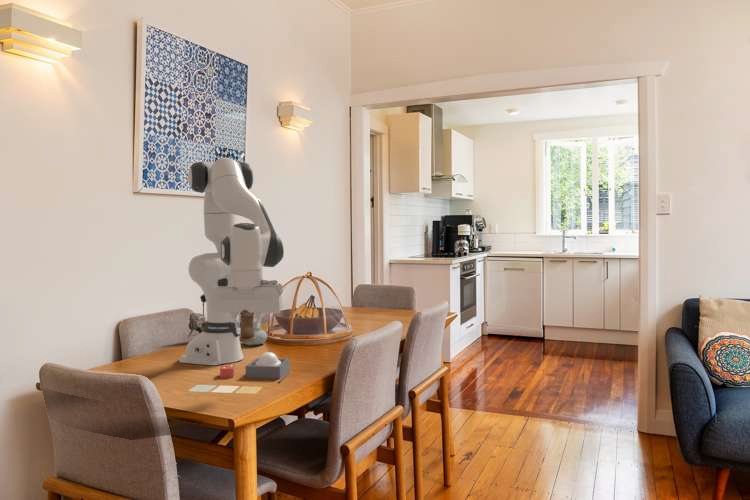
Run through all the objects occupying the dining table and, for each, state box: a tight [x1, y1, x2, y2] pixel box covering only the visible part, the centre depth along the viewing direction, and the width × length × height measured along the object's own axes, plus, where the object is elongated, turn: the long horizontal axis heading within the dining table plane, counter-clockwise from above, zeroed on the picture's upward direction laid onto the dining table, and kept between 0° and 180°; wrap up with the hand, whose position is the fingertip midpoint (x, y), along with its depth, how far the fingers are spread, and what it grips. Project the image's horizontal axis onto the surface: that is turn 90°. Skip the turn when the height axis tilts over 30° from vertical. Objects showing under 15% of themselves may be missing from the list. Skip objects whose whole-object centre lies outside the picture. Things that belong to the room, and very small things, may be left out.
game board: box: [187, 384, 263, 395], centre depth 164 cm, size 21×9×1 cm, turn 83°
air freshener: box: [239, 318, 268, 347], centre depth 232 cm, size 11×8×10 cm
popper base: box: [245, 357, 291, 384], centre depth 181 cm, size 11×11×5 cm
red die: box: [219, 364, 236, 379], centre depth 178 cm, size 4×4×4 cm
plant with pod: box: [187, 293, 207, 339], centre depth 238 cm, size 8×11×20 cm
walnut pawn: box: [239, 310, 256, 343], centre depth 162 cm, size 5×5×10 cm
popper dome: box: [255, 351, 281, 366], centre depth 181 cm, size 8×8×6 cm
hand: (247, 328), depth 162 cm, fingers closed on walnut pawn, 4 cm apart
